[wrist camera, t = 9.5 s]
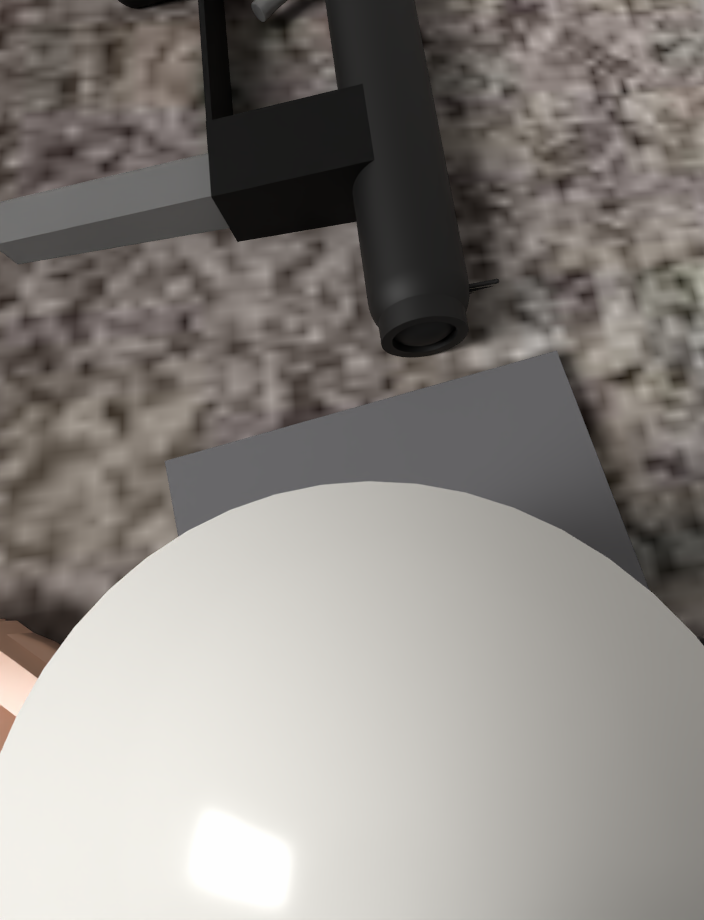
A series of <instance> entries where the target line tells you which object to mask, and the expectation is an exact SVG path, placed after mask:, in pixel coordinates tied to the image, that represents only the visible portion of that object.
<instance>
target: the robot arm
mask: <svg viewBox="0 0 704 920" xmlns="http://www.w3.org/2000/svg"><path fill="white" fill-rule="evenodd" d="M697 638H698V639H699V641H700V642H701V643H702V644H703V646H704V638H701V637H697Z"/></svg>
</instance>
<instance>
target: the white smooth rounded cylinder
mask: <svg viewBox="0 0 704 920" xmlns="http://www.w3.org/2000/svg"><path fill="white" fill-rule="evenodd" d="M0 920H704V646H703V644H702V643H701V642H700V641H699V639H698V638H697V637H696V636H695V635H694V634H693V633H692V632H691V631H690V630H689V629H688V628H687V627H686V626H685V625H684V624H683V623H682V622H681V621H680V620H679V619H678V618H677V617H676V616H675V615H674V614H673V613H672V612H671V611H670V610H669V609H668V608H667V607H666V606H665V605H664V604H663V603H662V602H661V601H660V600H659V599H658V598H657V597H656V596H655V595H654V594H653V593H652V592H651V591H650V590H648V589H647V588H646V587H644V586H643V585H642V584H641V583H639V582H638V581H637V580H636V579H634V578H633V577H632V576H631V575H629V574H628V573H627V572H625V571H624V570H623V569H622V568H620V567H619V566H618V565H617V564H615V563H614V562H613V561H611V560H610V559H609V558H607V557H606V556H604V555H603V554H601V553H599V552H598V551H596V550H594V549H593V548H591V547H589V546H588V545H586V544H585V543H583V542H581V541H580V540H578V539H576V538H575V537H573V536H572V535H570V534H568V533H567V532H565V531H563V530H562V529H559V528H557V527H555V526H553V525H551V524H549V523H546V522H544V521H542V520H540V519H538V518H535V517H533V516H531V515H529V514H527V513H524V512H522V511H520V510H518V509H516V508H513V507H510V506H507V505H504V504H500V503H497V502H494V501H491V500H488V499H485V498H481V497H478V496H475V495H472V494H469V493H466V492H460V491H454V490H449V489H443V488H438V487H432V486H427V485H421V484H413V483H394V482H375V481H364V482H351V483H338V484H325V485H318V486H313V487H308V488H303V489H299V490H294V491H289V492H284V493H279V494H275V495H272V496H269V497H266V498H263V499H260V500H257V501H254V502H251V503H249V504H246V505H243V506H240V507H237V508H234V509H231V510H229V511H227V512H225V513H223V514H221V515H219V516H217V517H215V518H213V519H211V520H209V521H207V522H204V523H202V524H200V525H198V526H196V527H194V528H192V529H190V530H188V531H186V532H185V533H183V534H182V535H180V536H179V537H177V538H176V539H174V540H173V541H171V542H170V543H168V544H167V545H165V546H164V547H162V548H161V549H159V550H158V551H156V552H155V553H153V554H152V555H150V556H149V557H147V558H146V559H145V560H143V561H142V562H141V563H140V564H139V565H138V566H136V567H135V568H134V569H133V570H132V571H130V572H129V573H128V574H127V575H126V576H125V577H123V578H122V579H121V580H120V581H119V582H118V583H116V584H115V585H114V586H113V587H112V588H110V589H109V590H108V591H107V592H106V594H105V595H104V596H103V597H102V598H101V599H100V600H99V601H98V602H97V603H96V604H95V605H94V606H93V608H92V609H91V610H90V611H89V612H88V613H87V614H86V615H85V616H84V617H83V618H82V619H81V620H80V621H79V623H78V624H77V625H76V626H75V627H74V628H73V630H72V631H71V632H70V634H69V635H68V636H67V638H66V639H65V640H64V642H63V643H62V645H61V646H60V647H59V649H58V650H57V651H56V653H55V654H54V655H53V657H52V658H51V660H50V661H49V662H48V664H47V665H46V666H45V668H44V669H43V671H42V673H41V674H40V676H39V678H38V679H37V681H36V683H35V685H34V686H33V688H32V690H31V692H30V693H29V695H28V697H27V699H26V700H25V702H24V704H23V706H22V707H21V709H20V711H19V713H18V714H17V716H16V718H15V721H14V723H13V725H12V727H11V730H10V732H9V734H8V737H7V739H6V741H5V743H4V746H3V748H2V750H1V753H0Z"/></svg>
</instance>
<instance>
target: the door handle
mask: <svg viewBox="0 0 704 920" xmlns="http://www.w3.org/2000/svg"><path fill="white" fill-rule="evenodd" d="M118 1H120V2H121V3H122V4H124V5H126V6H128V7H131V8H141V7H145V6H148V5H152V4H156V3H160V2H164V1H167V0H118ZM286 1H287V0H255V1H254V2H253V3H252V4H251V7H252V10H253V12H254V14H255V16H256V17H257V18H258V19H259V20H260V21H262V22H265V21H266V19H267V18H268V17H269V16H270V15H271V14H273V13H274V12H275V11H276V10H277V9H278V8H279V7H280V6H281V5H283V4H284V3H285V2H286ZM325 2H326V9H327V16H328V23H329V30H330V37H331V44H332V51H333V58H334V65H335V72H336V80H337V87H338V90H334V91H330V92H326V93H322V94H318V95H314V96H310V97H305V98H301V99H297V100H293V101H289V102H285V103H281V104H277V105H272V106H268V107H264V108H260V109H256V110H252V111H248V112H244V113H239V114H235V115H233V108H232V96H231V84H230V72H229V59H228V47H227V35H226V23H225V11H224V0H198V5H199V20H200V35H201V49H202V64H203V79H204V93H205V108H206V129H207V144H208V153H206V154H202V155H198V156H194V157H189V158H185V159H181V160H177V161H172V162H168V163H164V164H160V165H155V166H151V167H147V168H143V169H138V170H134V171H130V172H126V173H121V174H117V175H113V176H109V177H104V178H100V179H96V180H92V181H87V182H83V183H79V184H75V185H70V186H66V187H62V188H58V189H53V190H49V191H45V192H41V193H36V194H32V195H28V196H24V197H19V198H15V199H11V200H7V201H2V202H0V251H1V252H3V253H4V254H5V255H6V256H8V257H9V258H10V259H12V260H13V261H14V262H15V263H17V264H22V263H28V262H34V261H40V260H46V259H52V258H57V257H63V256H69V255H75V254H81V253H86V252H92V251H98V250H104V249H110V248H115V247H121V246H127V245H133V244H139V243H144V242H150V241H156V240H162V239H168V238H174V237H179V236H185V235H191V234H197V233H203V232H208V231H214V230H220V229H226V228H230V230H231V231H232V233H233V235H234V236H235V238H236V240H237V241H238V242H239V241H245V240H251V239H257V238H262V237H268V236H274V235H280V234H286V233H292V232H298V231H304V230H309V229H315V228H321V227H327V226H333V225H339V224H345V223H351V222H356V221H357V228H358V235H359V242H360V249H361V257H362V264H363V271H364V278H365V285H366V292H367V299H368V305H369V310H370V313H371V316H372V318H373V320H374V322H375V323H376V325H377V326H378V327H379V331H380V338H381V345H382V348H383V349H384V350H385V351H386V352H387V353H389V354H392V355H395V356H400V357H421V356H427V355H432V354H436V353H439V352H442V351H445V350H447V349H449V348H451V347H453V346H455V345H457V344H458V343H460V342H461V341H462V340H463V339H464V338H465V337H466V335H467V333H468V324H467V319H466V313H465V312H466V310H467V306H468V302H469V294H470V293H469V292H472V291H476V290H480V289H484V288H488V287H482V288H475V287H480V286H485V285H491V284H496V283H498V282H499V280H498V279H494V280H489V281H484V282H478V283H473V284H469V283H468V277H467V272H466V267H465V262H464V256H463V251H462V246H461V241H460V236H459V230H458V225H457V220H456V215H455V210H454V204H453V199H452V194H451V189H450V184H449V178H448V173H447V168H446V163H445V158H444V152H443V147H442V142H441V137H440V132H439V126H438V121H437V116H436V111H435V106H434V101H433V95H432V90H431V85H430V80H429V75H428V69H427V64H426V59H425V54H424V49H423V43H422V38H421V33H420V28H419V23H418V17H417V12H416V7H415V2H414V0H325ZM489 287H492V286H489ZM470 288H475V289H470ZM473 293H474V292H473Z"/></svg>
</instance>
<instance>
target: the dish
mask: <svg viewBox="0 0 704 920" xmlns="http://www.w3.org/2000/svg"><path fill="white" fill-rule="evenodd" d="M60 646H61V645H60V644H59V643H57V642H55V641H53V640H50V639H48V638H46V637H43V636H41V635H38V634H36V633H33V632H32V631H31V630H29V629H28V628H26V627H25V626H24V625H22V624H21V623H19V622H18V621H5V619H0V753H1V750H2V748H3V746H4V743H5V741H6V739H7V737H8V734H9V732H10V730H11V727H12V725H13V723H14V721H15V718H16V716H17V714H18V713H19V711H20V709H21V707H22V706H23V704H24V702H25V700H26V699H27V697H28V695H29V693H30V692H31V690H32V688H33V686H34V685H35V683H36V681H37V679H38V678H39V676H40V674H41V673H42V671H43V669H44V668H45V666H46V665H47V664H48V662H49V661H50V660H51V658H52V657H53V655H54V654H55V653H56V651H57V650H58V649H59V647H60Z"/></svg>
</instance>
